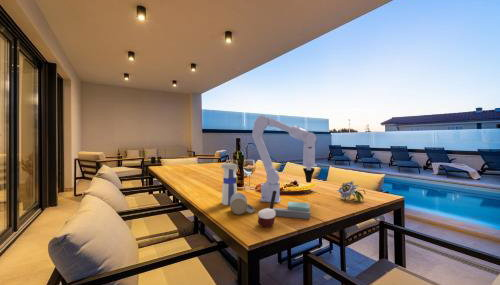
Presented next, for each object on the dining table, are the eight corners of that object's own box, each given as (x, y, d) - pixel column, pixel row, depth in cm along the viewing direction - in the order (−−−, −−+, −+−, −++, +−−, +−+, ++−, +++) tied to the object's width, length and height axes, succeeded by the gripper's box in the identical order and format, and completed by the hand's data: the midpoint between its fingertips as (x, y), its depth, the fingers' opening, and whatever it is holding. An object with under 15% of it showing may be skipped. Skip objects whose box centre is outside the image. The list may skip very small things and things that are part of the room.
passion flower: (344, 210, 118) (331, 189, 123) (356, 203, 123) (344, 184, 128) (359, 203, 109) (345, 181, 114) (372, 196, 114) (358, 175, 119)
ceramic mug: (230, 215, 92) (230, 197, 92) (229, 209, 100) (230, 192, 100) (255, 215, 93) (256, 197, 93) (252, 209, 101) (253, 192, 101)
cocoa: (259, 231, 78) (259, 198, 77) (252, 224, 84) (252, 193, 83) (283, 226, 82) (282, 194, 81) (274, 219, 88) (274, 189, 87)
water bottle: (235, 199, 116) (235, 151, 115) (239, 204, 108) (240, 153, 107) (219, 201, 113) (220, 152, 113) (223, 205, 105) (223, 153, 105)
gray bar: (272, 215, 93) (272, 209, 93) (273, 213, 95) (273, 207, 95) (309, 219, 89) (310, 213, 89) (309, 217, 92) (309, 211, 91)
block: (287, 215, 94) (287, 206, 94) (288, 210, 101) (288, 201, 101) (309, 217, 92) (309, 208, 92) (309, 212, 98) (309, 203, 98)
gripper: (317, 157, 105) (317, 185, 105) (316, 154, 119) (316, 180, 119) (302, 156, 107) (302, 184, 107) (303, 154, 121) (302, 179, 121)
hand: (308, 182), depth 113 cm, fingers closed
